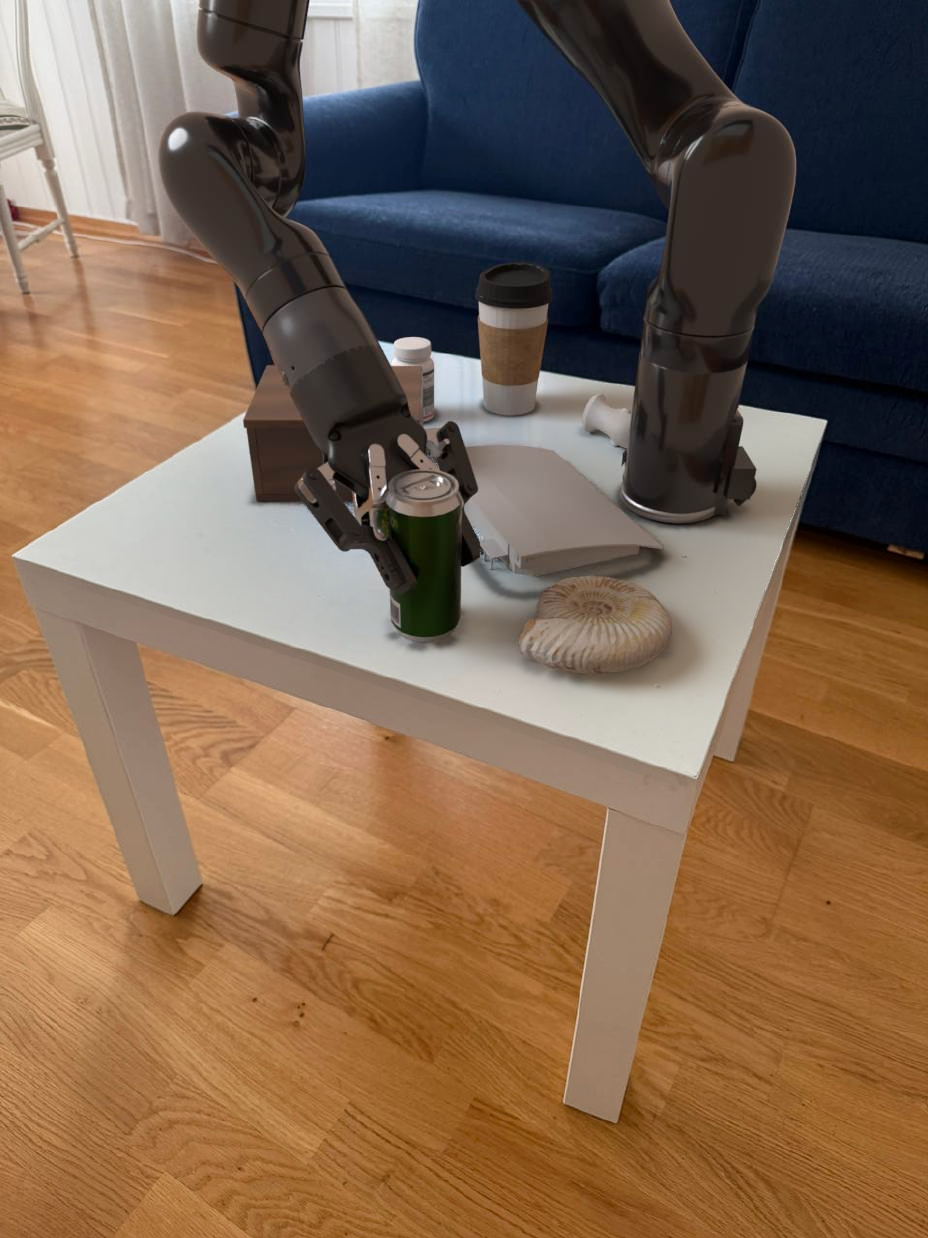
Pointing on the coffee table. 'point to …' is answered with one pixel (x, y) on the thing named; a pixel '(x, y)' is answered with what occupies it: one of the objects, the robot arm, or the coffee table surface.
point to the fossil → (596, 626)
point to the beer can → (427, 552)
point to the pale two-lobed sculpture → (607, 420)
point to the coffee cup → (512, 334)
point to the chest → (286, 461)
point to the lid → (280, 411)
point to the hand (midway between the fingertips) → (440, 575)
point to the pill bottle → (418, 354)
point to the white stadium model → (544, 512)
